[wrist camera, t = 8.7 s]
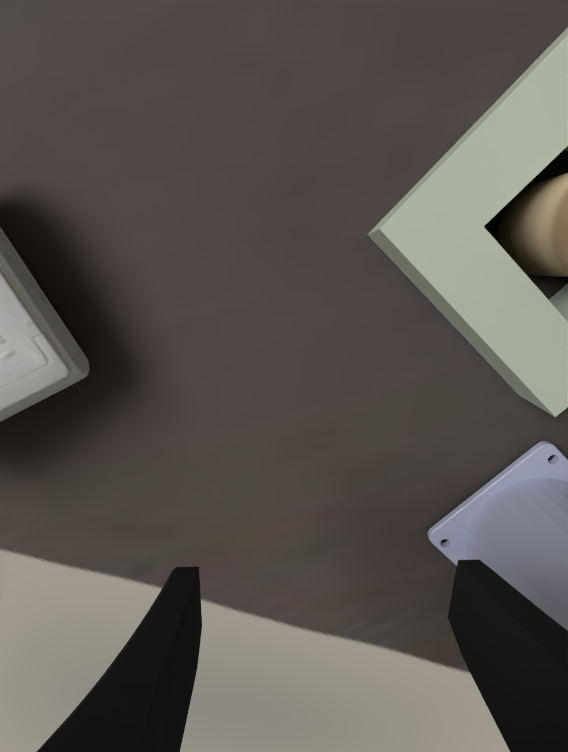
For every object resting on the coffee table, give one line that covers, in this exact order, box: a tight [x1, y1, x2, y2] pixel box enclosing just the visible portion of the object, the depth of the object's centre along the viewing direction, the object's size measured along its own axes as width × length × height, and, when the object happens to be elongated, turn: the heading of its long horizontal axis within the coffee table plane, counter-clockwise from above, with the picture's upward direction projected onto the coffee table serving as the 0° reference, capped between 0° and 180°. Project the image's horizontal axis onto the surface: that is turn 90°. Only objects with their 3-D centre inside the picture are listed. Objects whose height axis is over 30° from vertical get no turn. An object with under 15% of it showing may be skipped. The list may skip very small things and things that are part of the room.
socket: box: [368, 28, 568, 417], centre depth 17 cm, size 11×11×3 cm
